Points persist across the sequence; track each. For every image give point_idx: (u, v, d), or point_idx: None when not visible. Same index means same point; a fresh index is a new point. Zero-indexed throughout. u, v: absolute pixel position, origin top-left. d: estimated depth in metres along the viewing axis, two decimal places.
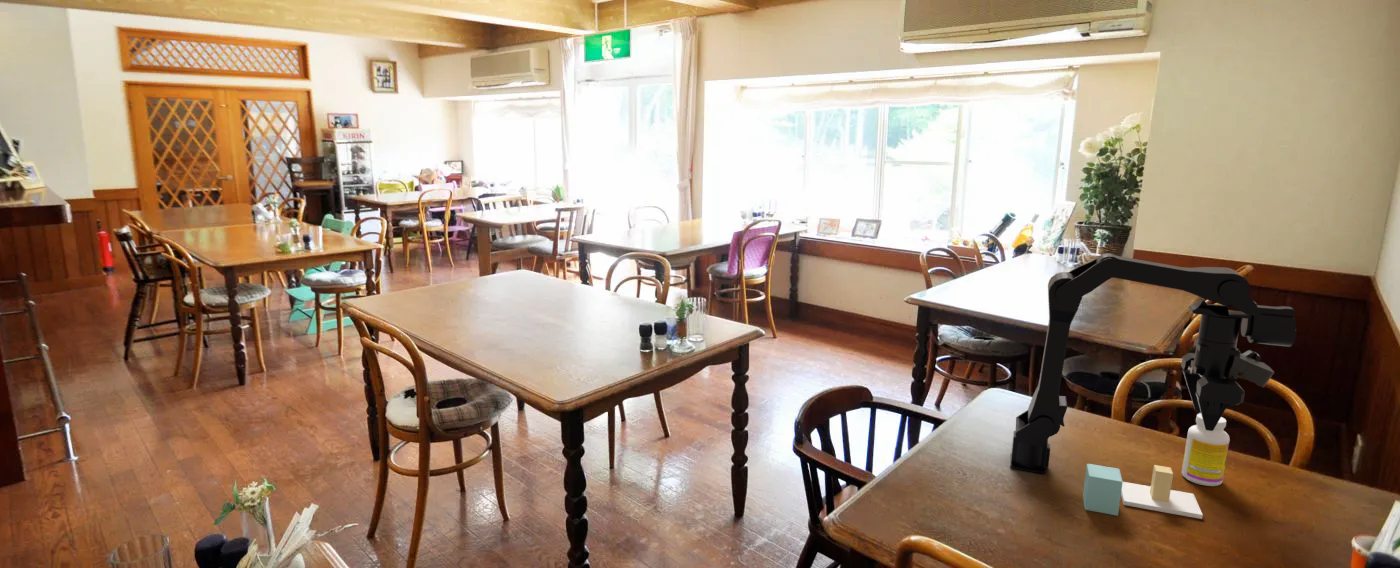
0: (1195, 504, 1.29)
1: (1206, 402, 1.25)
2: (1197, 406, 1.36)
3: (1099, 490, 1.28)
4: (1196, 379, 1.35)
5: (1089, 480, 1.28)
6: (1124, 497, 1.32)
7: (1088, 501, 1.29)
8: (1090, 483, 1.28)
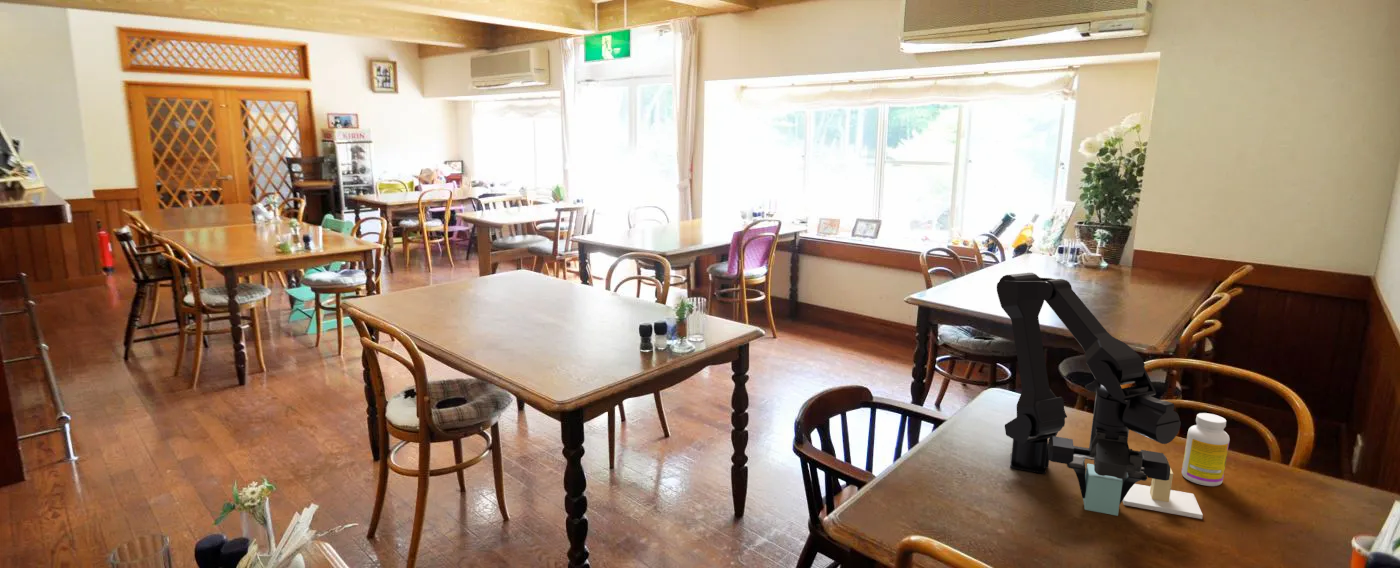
0: (1195, 504, 1.29)
1: None
2: None
3: (1099, 490, 1.28)
4: None
5: (1089, 480, 1.28)
6: (1124, 497, 1.32)
7: (1088, 501, 1.29)
8: (1090, 483, 1.28)
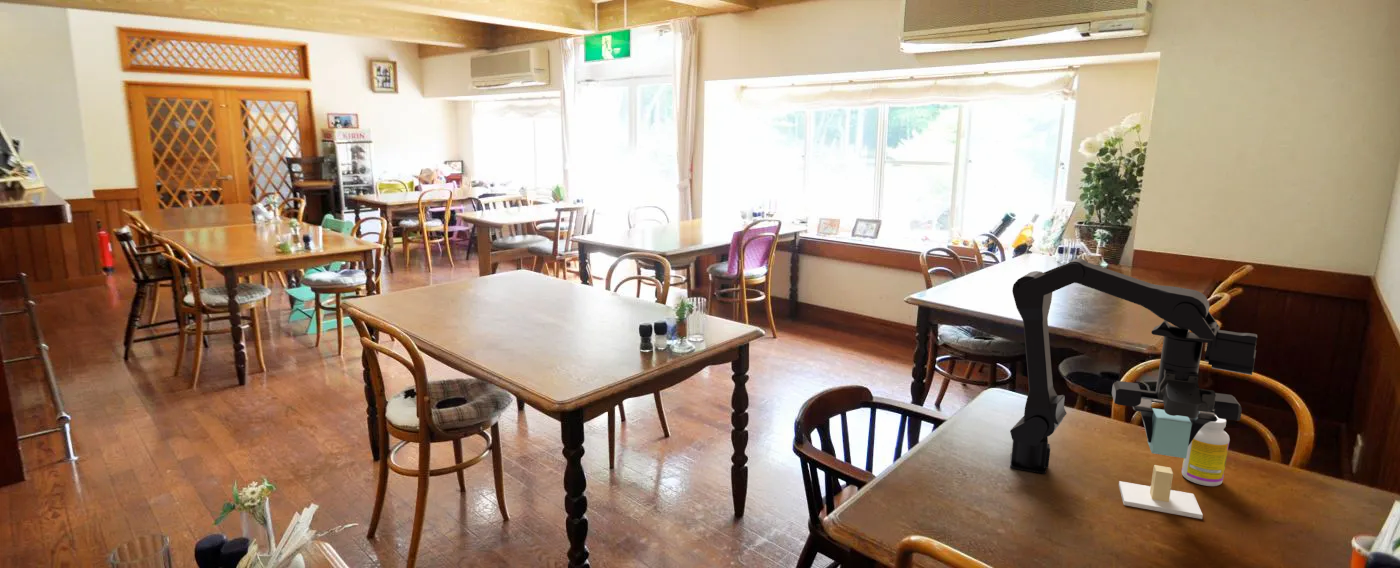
0: (1195, 504, 1.29)
1: None
2: None
3: (1167, 433, 1.27)
4: None
5: (1157, 423, 1.27)
6: (1124, 497, 1.32)
7: (1155, 444, 1.28)
8: (1158, 426, 1.27)
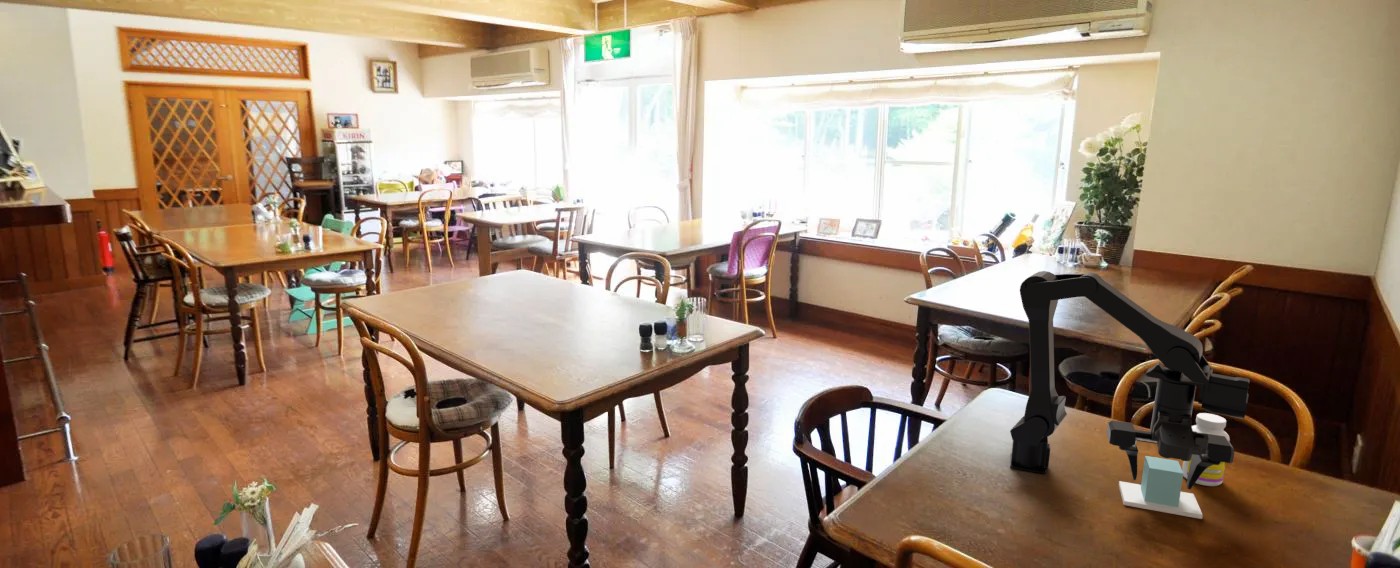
0: (1195, 504, 1.29)
1: None
2: (1187, 482, 1.30)
3: (1159, 482, 1.29)
4: (1195, 455, 1.29)
5: (1149, 472, 1.29)
6: (1124, 497, 1.32)
7: (1148, 493, 1.30)
8: (1150, 475, 1.29)
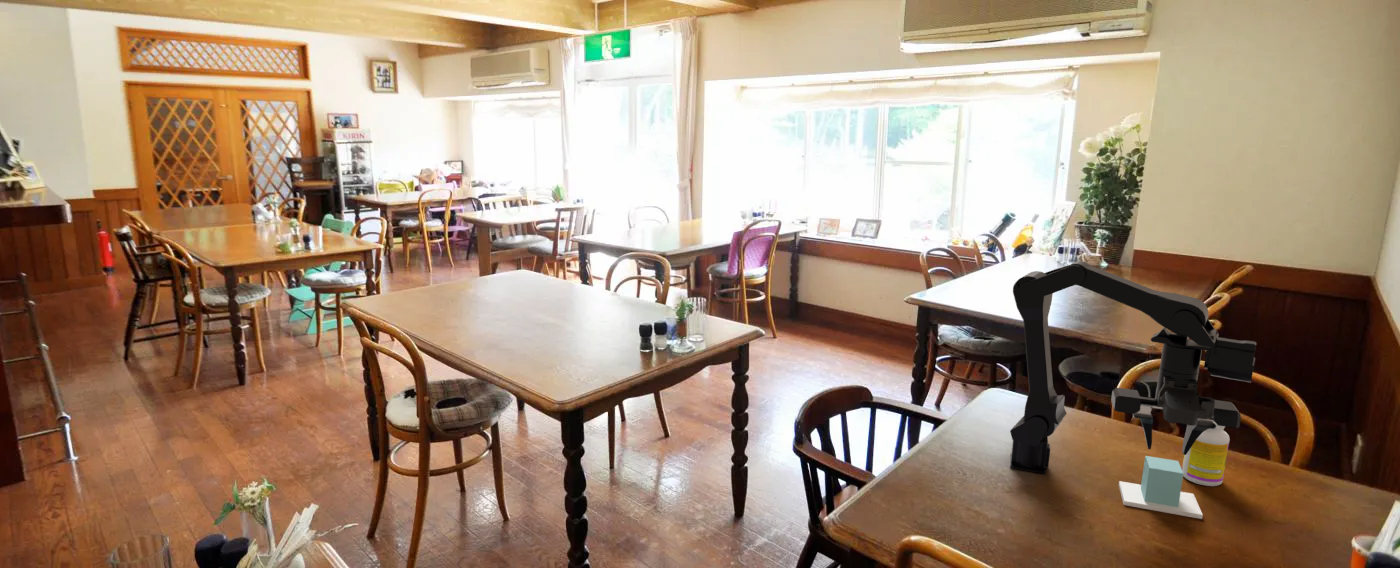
0: (1195, 504, 1.29)
1: None
2: (1183, 447, 1.29)
3: (1159, 482, 1.29)
4: None
5: (1149, 472, 1.29)
6: (1124, 497, 1.32)
7: (1148, 493, 1.30)
8: (1150, 475, 1.29)
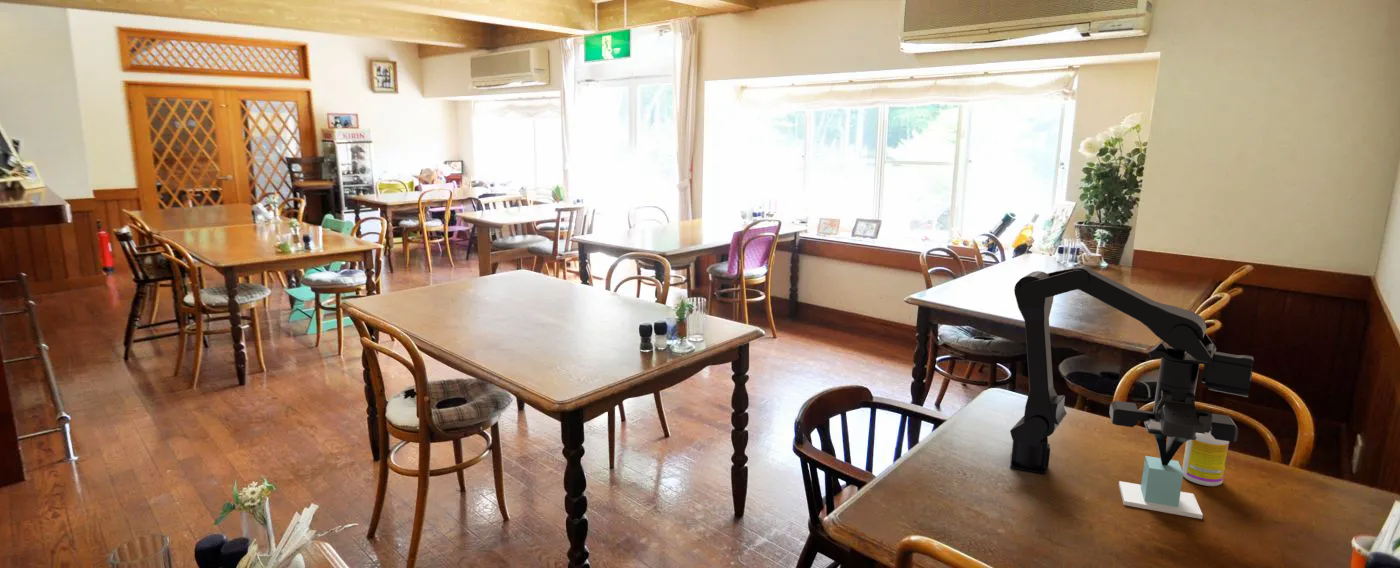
0: (1195, 504, 1.29)
1: None
2: None
3: (1159, 482, 1.29)
4: None
5: (1149, 472, 1.29)
6: (1124, 497, 1.32)
7: (1148, 493, 1.30)
8: (1150, 475, 1.29)
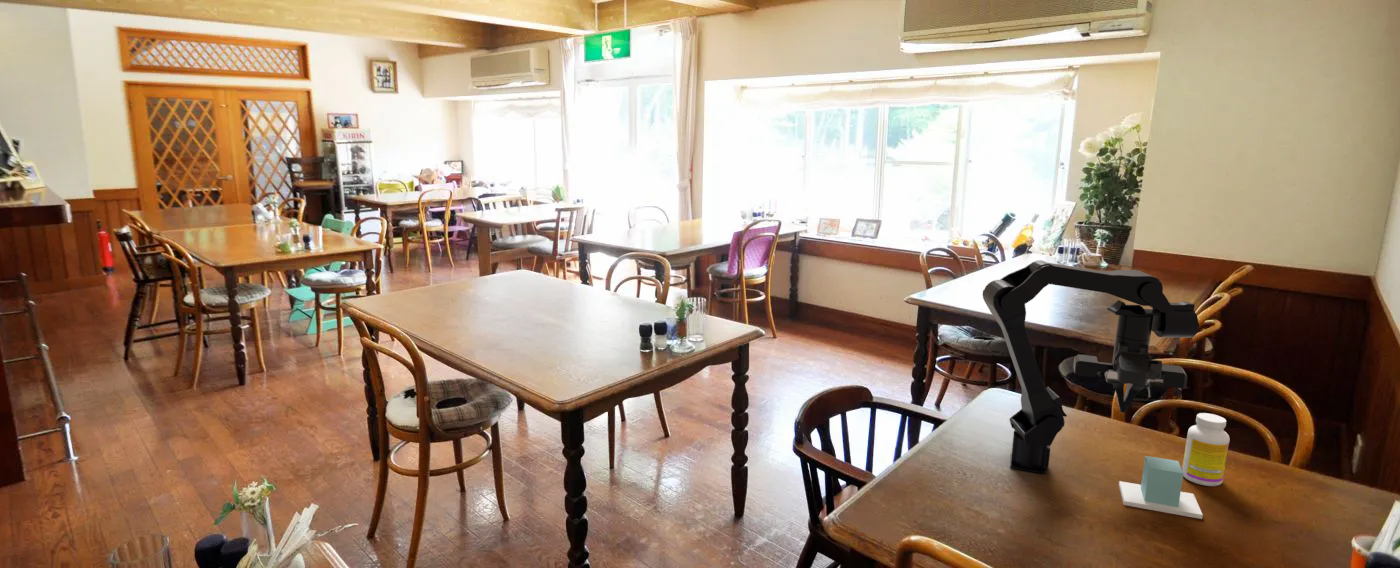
0: (1195, 504, 1.29)
1: None
2: None
3: (1159, 482, 1.29)
4: None
5: (1149, 472, 1.29)
6: (1124, 497, 1.32)
7: (1148, 493, 1.30)
8: (1150, 475, 1.29)
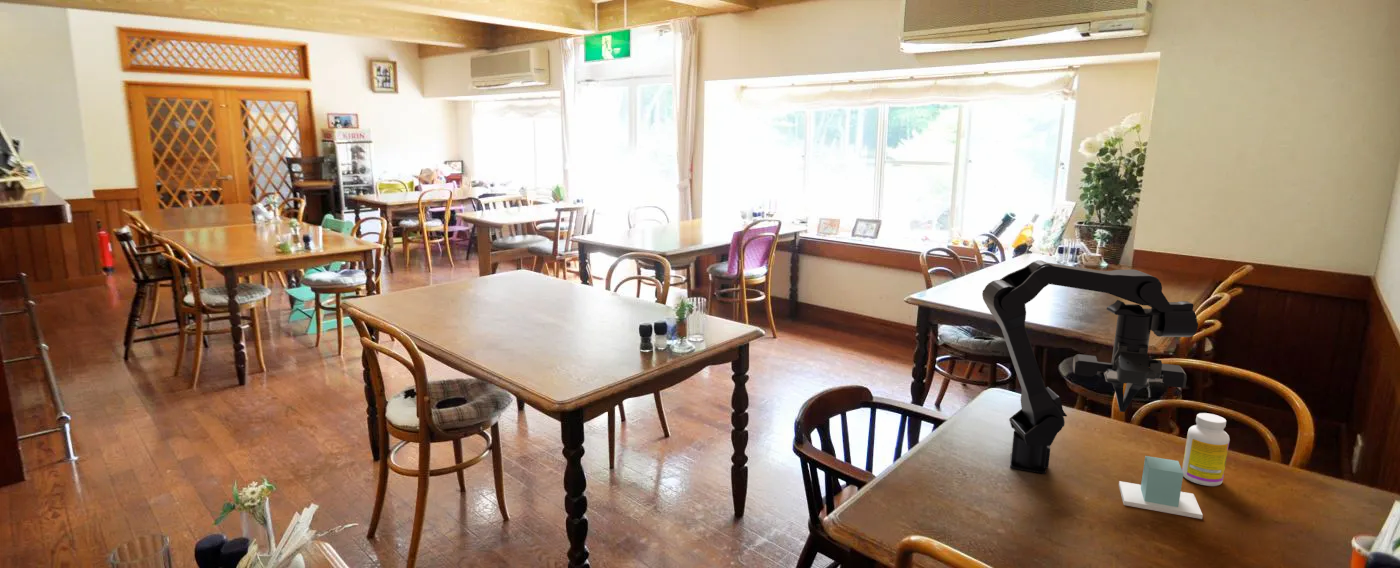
0: (1195, 504, 1.29)
1: None
2: None
3: (1159, 482, 1.29)
4: None
5: (1149, 472, 1.29)
6: (1124, 497, 1.32)
7: (1148, 493, 1.30)
8: (1150, 475, 1.29)
